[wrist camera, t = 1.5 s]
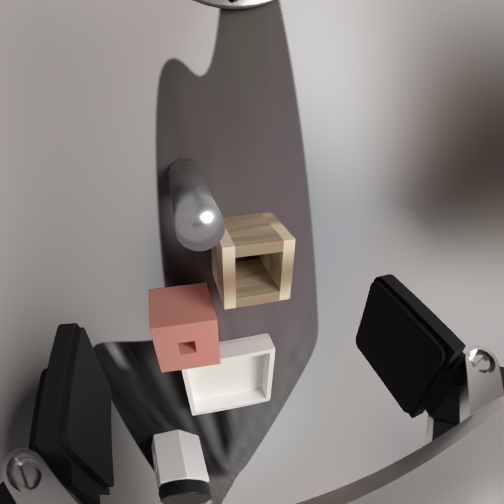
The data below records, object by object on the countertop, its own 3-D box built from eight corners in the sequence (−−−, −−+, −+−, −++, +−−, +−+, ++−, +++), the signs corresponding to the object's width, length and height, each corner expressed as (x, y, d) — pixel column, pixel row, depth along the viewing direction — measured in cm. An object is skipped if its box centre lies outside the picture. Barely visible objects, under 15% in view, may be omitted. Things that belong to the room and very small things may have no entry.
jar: (153, 427, 42) (163, 493, 32) (201, 428, 46) (217, 490, 35) (149, 450, 46) (157, 507, 36) (192, 450, 49) (205, 505, 39)
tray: (177, 348, 35) (180, 365, 33) (267, 333, 38) (275, 348, 36) (189, 399, 41) (192, 415, 38) (264, 386, 44) (270, 400, 41)
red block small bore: (148, 289, 31) (149, 328, 26) (206, 282, 32) (217, 319, 27) (158, 332, 33) (161, 372, 28) (209, 325, 35) (220, 363, 30)
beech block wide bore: (209, 218, 29) (222, 247, 24) (271, 212, 30) (295, 239, 25) (212, 273, 32) (224, 309, 27) (268, 265, 33) (289, 298, 28)
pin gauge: (167, 160, 25) (173, 208, 15) (197, 157, 26) (225, 202, 16) (169, 189, 26) (178, 254, 16) (198, 186, 27) (225, 248, 17)
